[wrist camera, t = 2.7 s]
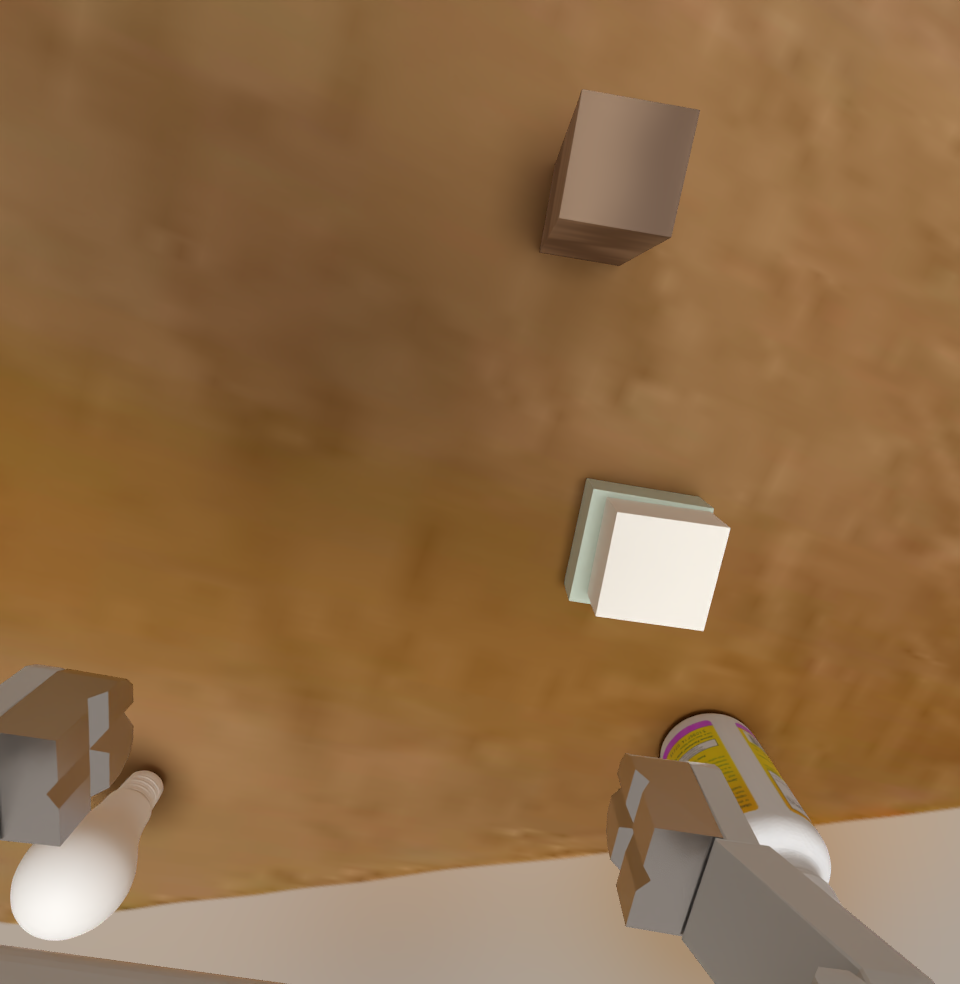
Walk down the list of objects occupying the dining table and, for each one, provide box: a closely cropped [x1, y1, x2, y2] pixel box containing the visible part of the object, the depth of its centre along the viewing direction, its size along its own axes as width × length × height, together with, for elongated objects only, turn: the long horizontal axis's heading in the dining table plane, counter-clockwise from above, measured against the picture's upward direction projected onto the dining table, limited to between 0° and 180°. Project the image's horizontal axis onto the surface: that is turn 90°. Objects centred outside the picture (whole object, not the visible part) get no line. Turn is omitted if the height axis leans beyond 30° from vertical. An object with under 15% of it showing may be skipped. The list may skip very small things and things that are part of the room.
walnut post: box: [540, 89, 700, 266], centre depth 28 cm, size 4×4×10 cm
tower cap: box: [587, 497, 730, 631], centre depth 33 cm, size 6×6×3 cm
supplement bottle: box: [660, 713, 841, 905], centre depth 35 cm, size 7×7×13 cm
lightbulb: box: [10, 770, 163, 940], centre depth 37 cm, size 6×6×11 cm
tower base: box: [564, 478, 714, 604], centre depth 36 cm, size 7×7×3 cm
